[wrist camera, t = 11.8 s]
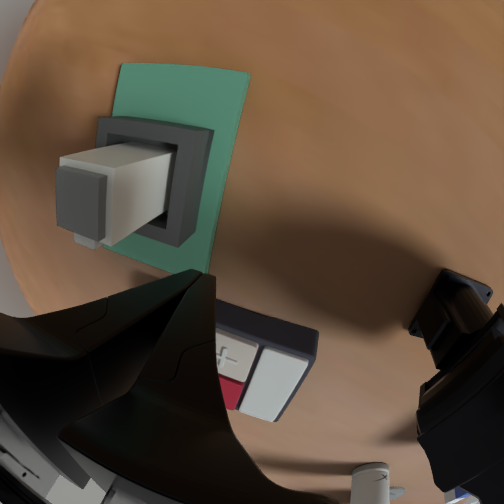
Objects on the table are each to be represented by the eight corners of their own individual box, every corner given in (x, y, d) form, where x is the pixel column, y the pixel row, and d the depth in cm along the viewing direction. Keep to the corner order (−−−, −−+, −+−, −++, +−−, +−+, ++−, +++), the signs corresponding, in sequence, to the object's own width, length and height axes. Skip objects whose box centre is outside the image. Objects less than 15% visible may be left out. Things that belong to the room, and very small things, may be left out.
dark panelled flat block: (137, 296, 22) (316, 364, 20) (163, 272, 26) (321, 329, 24) (141, 375, 27) (274, 429, 25) (159, 350, 31) (283, 398, 29)
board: (250, 75, 16) (234, 63, 13) (206, 277, 24) (188, 304, 20) (129, 64, 17) (97, 58, 14) (109, 243, 25) (82, 261, 21)
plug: (180, 151, 18) (106, 171, 11) (170, 214, 20) (104, 262, 13) (132, 141, 18) (51, 159, 11) (125, 201, 20) (54, 239, 13)
